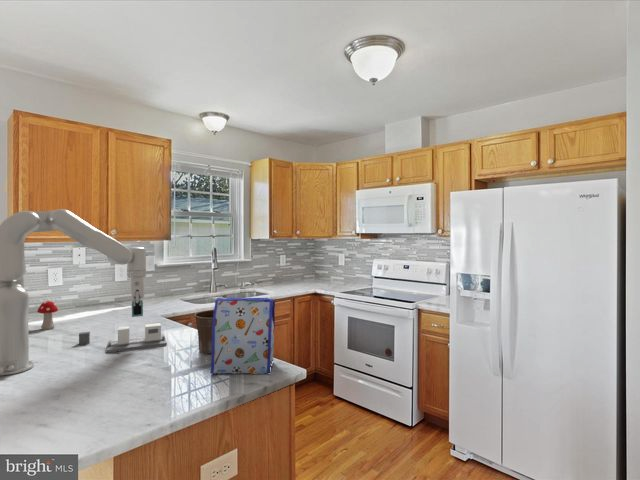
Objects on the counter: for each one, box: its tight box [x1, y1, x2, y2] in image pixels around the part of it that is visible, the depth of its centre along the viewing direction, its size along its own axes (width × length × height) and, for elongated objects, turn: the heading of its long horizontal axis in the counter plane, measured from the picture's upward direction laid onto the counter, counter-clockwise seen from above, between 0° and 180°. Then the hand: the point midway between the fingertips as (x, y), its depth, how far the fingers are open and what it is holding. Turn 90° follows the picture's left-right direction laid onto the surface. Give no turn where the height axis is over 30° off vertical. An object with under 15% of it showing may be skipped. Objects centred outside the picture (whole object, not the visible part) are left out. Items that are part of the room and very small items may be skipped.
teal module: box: [131, 299, 144, 318], centre depth 169 cm, size 6×4×7 cm
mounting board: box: [105, 335, 168, 354], centre depth 169 cm, size 14×24×1 cm, turn 117°
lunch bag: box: [210, 297, 276, 375], centre depth 139 cm, size 23×17×27 cm
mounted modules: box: [117, 322, 162, 344], centre depth 169 cm, size 6×18×6 cm, turn 117°
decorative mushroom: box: [37, 300, 59, 331], centre depth 199 cm, size 10×9×15 cm
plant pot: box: [194, 309, 214, 355], centre depth 161 cm, size 16×16×16 cm
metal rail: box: [107, 334, 166, 347], centre depth 169 cm, size 4×23×2 cm, turn 117°
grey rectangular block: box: [78, 331, 91, 346], centre depth 171 cm, size 3×4×5 cm
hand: (137, 312), depth 169 cm, fingers closed on teal module, 5 cm apart
